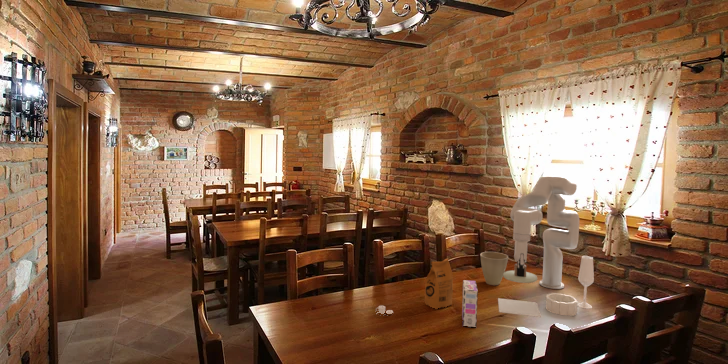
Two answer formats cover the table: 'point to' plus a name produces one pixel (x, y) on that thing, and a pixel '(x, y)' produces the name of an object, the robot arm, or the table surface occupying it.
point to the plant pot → (493, 266)
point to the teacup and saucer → (382, 310)
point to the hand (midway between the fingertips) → (520, 274)
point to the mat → (518, 307)
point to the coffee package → (439, 285)
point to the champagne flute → (586, 278)
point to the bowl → (561, 304)
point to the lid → (513, 276)
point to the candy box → (469, 303)
